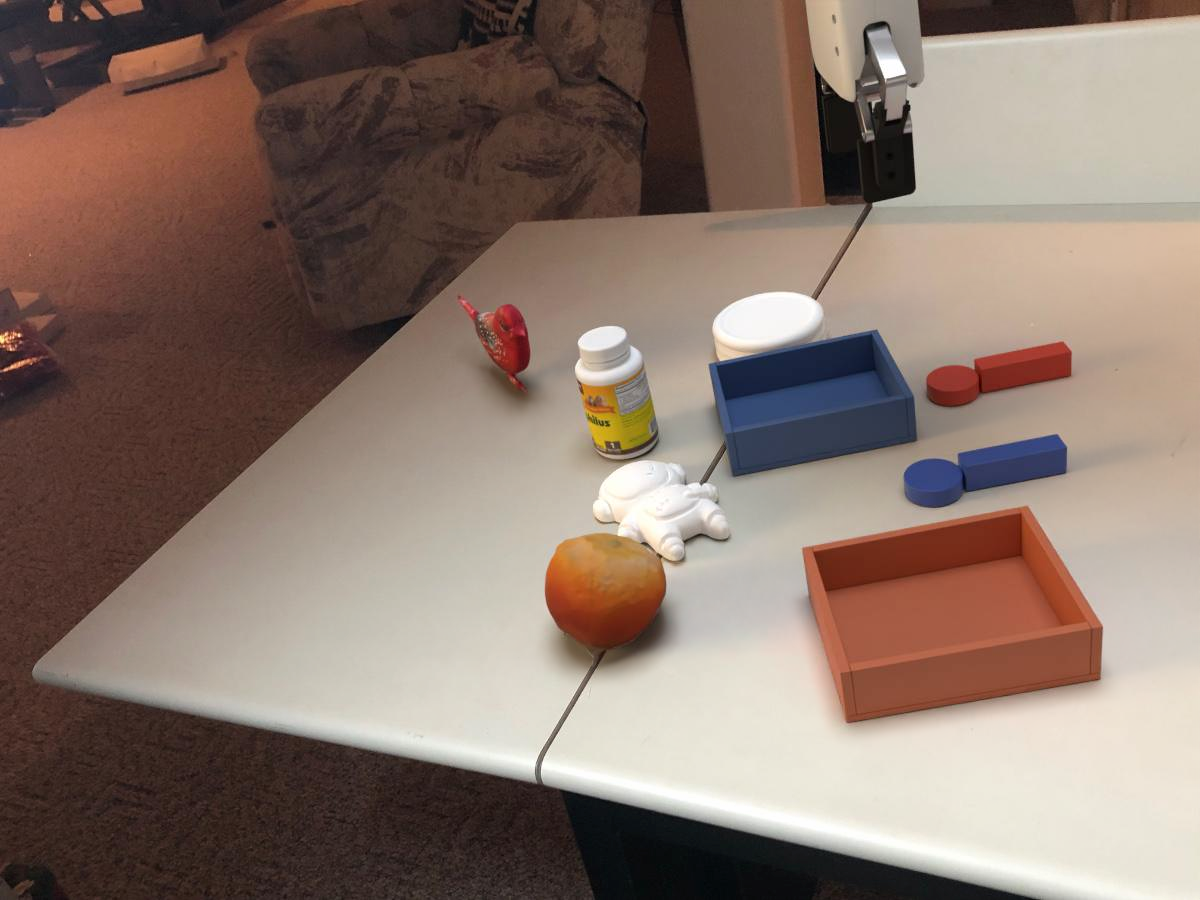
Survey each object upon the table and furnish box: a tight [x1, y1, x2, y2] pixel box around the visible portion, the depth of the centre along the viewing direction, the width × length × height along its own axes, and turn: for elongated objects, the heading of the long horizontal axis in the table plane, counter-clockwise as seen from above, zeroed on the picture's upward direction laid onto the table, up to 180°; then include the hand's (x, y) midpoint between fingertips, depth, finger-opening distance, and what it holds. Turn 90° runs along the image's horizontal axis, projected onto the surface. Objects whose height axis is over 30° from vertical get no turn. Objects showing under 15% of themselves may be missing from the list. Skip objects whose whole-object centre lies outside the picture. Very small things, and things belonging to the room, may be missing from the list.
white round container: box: [711, 291, 828, 361], centre depth 98 cm, size 10×10×4 cm
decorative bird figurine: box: [456, 294, 531, 393], centre depth 103 cm, size 3×18×10 cm, turn 28°
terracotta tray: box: [801, 505, 1104, 723], centre depth 65 cm, size 14×11×4 cm
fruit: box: [544, 532, 667, 669], centre depth 71 cm, size 8×8×8 cm
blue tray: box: [708, 328, 918, 477], centre depth 87 cm, size 14×11×4 cm
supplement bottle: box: [574, 325, 660, 460], centre depth 88 cm, size 6×6×10 cm
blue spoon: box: [903, 433, 1068, 508], centre depth 76 cm, size 11×4×2 cm, turn 92°
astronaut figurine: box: [592, 459, 731, 562], centre depth 81 cm, size 9×12×3 cm
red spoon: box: [925, 341, 1073, 407], centre depth 86 cm, size 11×4×2 cm, turn 92°
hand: (869, 171), depth 71 cm, fingers open, 9 cm apart
